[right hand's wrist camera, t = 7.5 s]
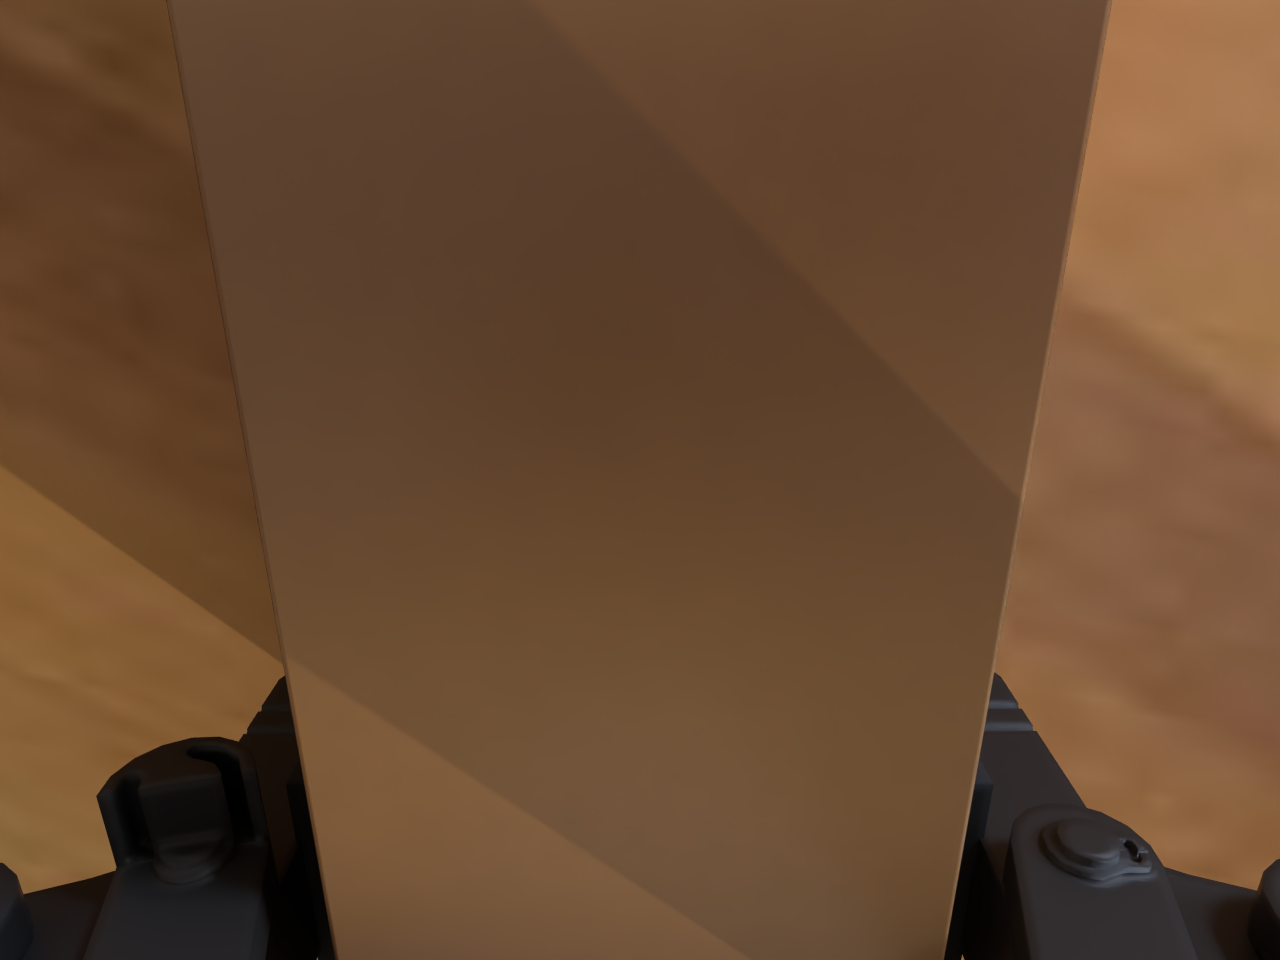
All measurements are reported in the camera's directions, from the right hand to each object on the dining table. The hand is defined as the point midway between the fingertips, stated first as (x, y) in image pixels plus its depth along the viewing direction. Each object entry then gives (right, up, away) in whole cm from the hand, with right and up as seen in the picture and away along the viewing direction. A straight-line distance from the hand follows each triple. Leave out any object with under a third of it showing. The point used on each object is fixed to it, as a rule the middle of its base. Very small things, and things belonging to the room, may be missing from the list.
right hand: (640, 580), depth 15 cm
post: (0, +19, -7) cm, 21 cm away
